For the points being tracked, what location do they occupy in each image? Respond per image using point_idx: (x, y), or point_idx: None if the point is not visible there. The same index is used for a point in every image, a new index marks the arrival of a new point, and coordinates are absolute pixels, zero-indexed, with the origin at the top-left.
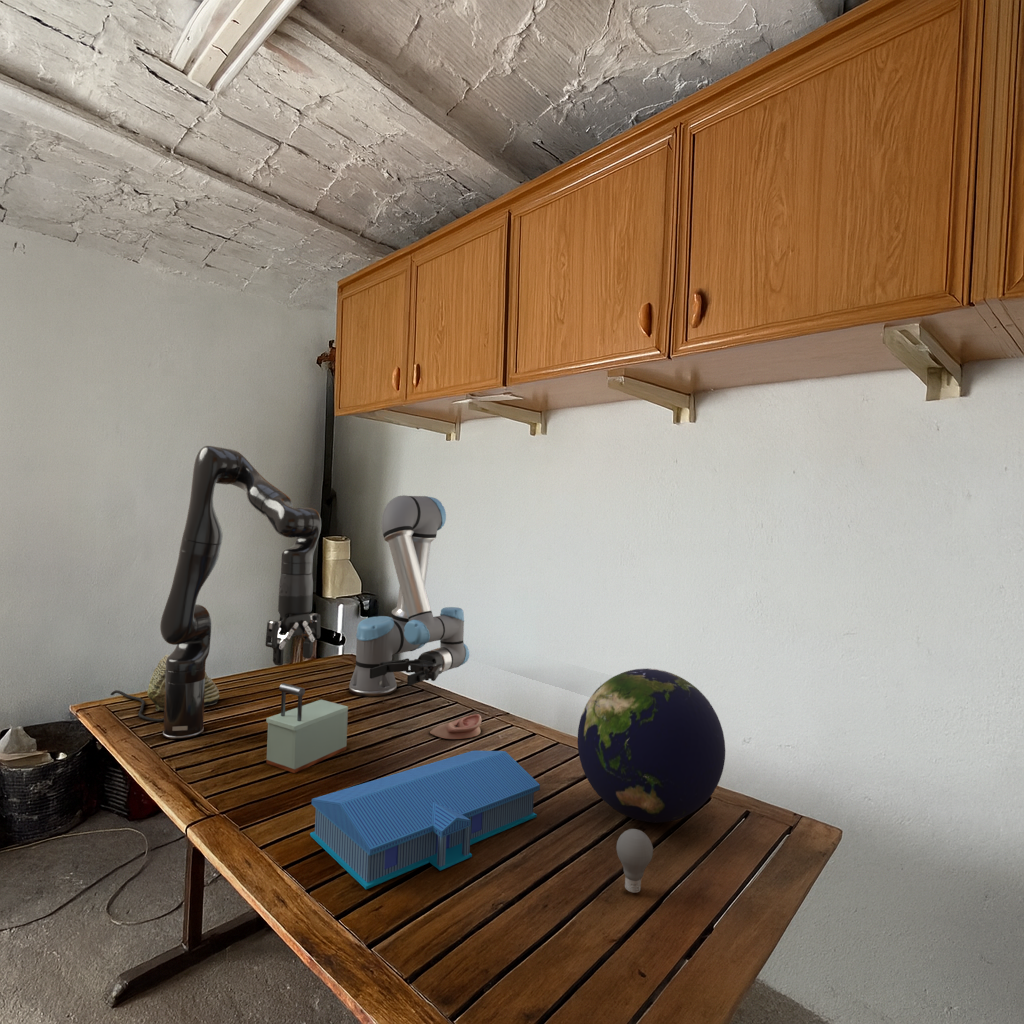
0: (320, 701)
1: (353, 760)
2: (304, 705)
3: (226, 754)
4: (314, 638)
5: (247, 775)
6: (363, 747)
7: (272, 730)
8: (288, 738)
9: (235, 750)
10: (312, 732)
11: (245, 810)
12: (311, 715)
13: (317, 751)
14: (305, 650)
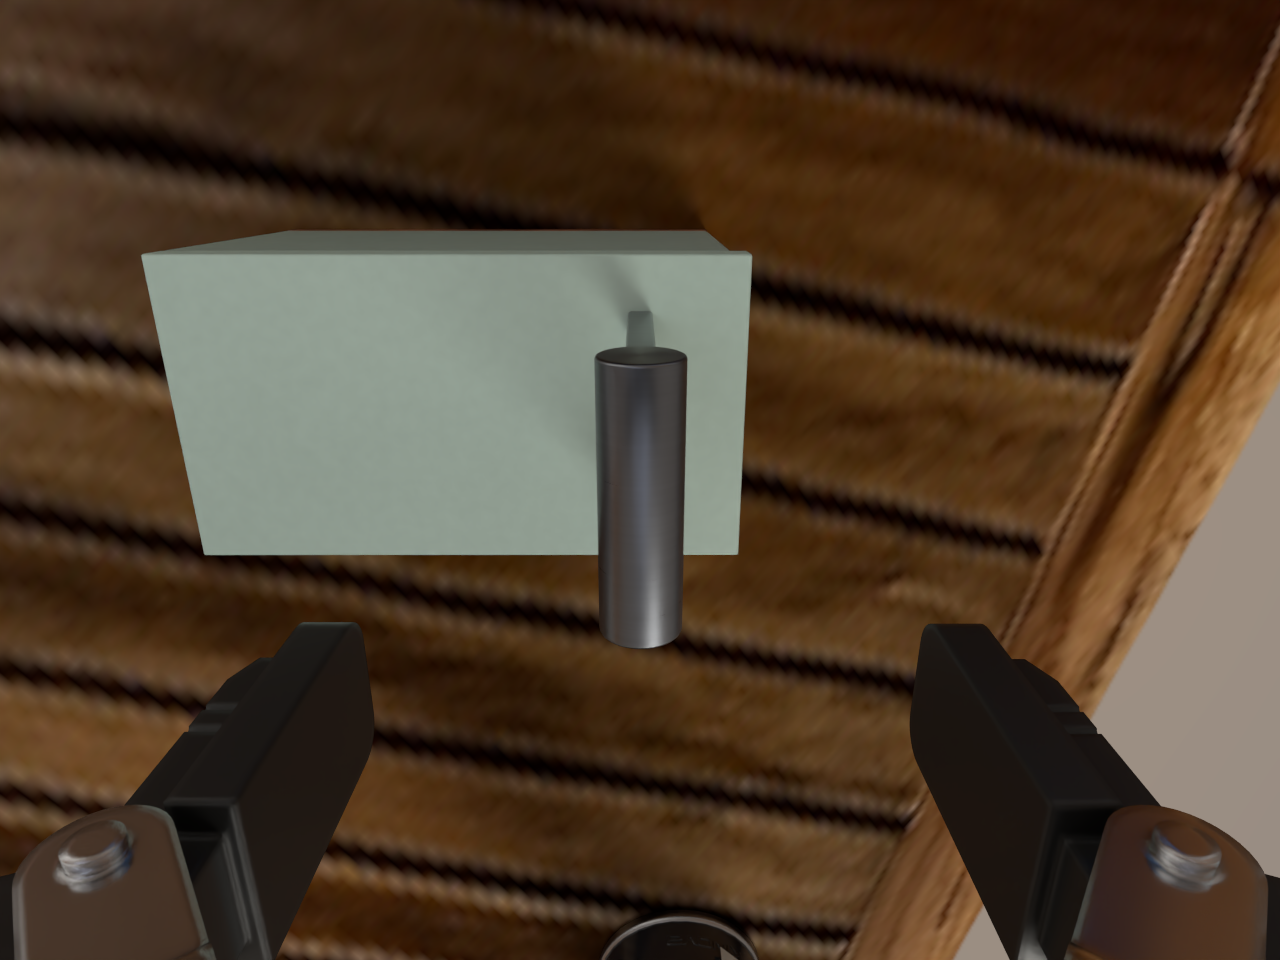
0: (238, 523)
1: (372, 66)
2: (384, 547)
3: (731, 672)
4: (21, 877)
5: (851, 409)
6: (197, 165)
7: None
8: None
9: (676, 677)
10: (564, 245)
11: (1159, 85)
12: (498, 337)
13: (527, 234)
14: (325, 777)
